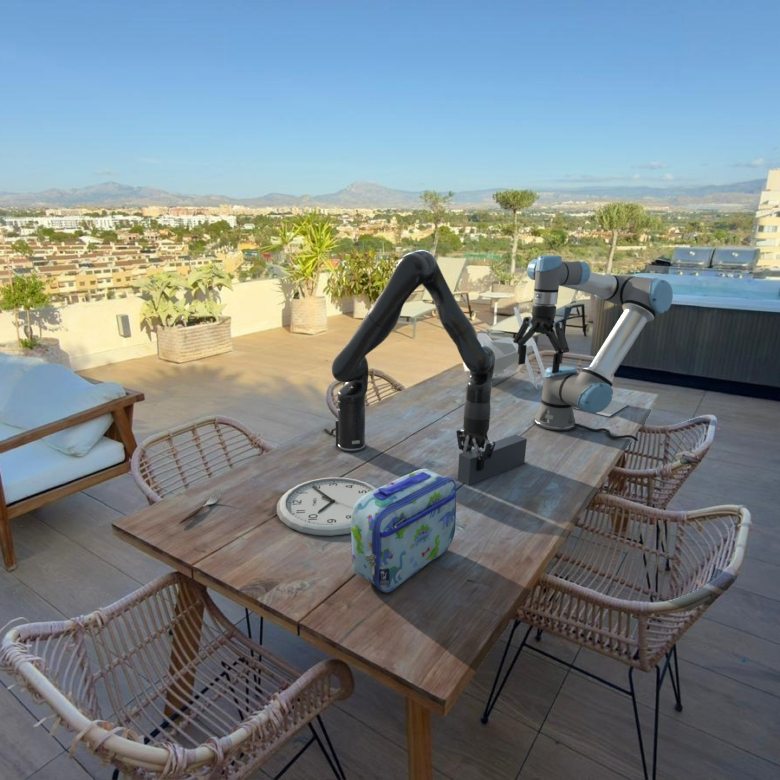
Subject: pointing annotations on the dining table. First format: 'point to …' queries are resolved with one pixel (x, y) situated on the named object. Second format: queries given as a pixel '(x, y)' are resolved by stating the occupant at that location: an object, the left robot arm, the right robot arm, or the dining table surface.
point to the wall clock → (322, 505)
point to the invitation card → (611, 408)
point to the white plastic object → (510, 352)
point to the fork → (209, 502)
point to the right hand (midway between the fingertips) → (537, 368)
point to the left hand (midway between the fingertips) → (473, 467)
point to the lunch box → (402, 527)
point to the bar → (492, 460)
